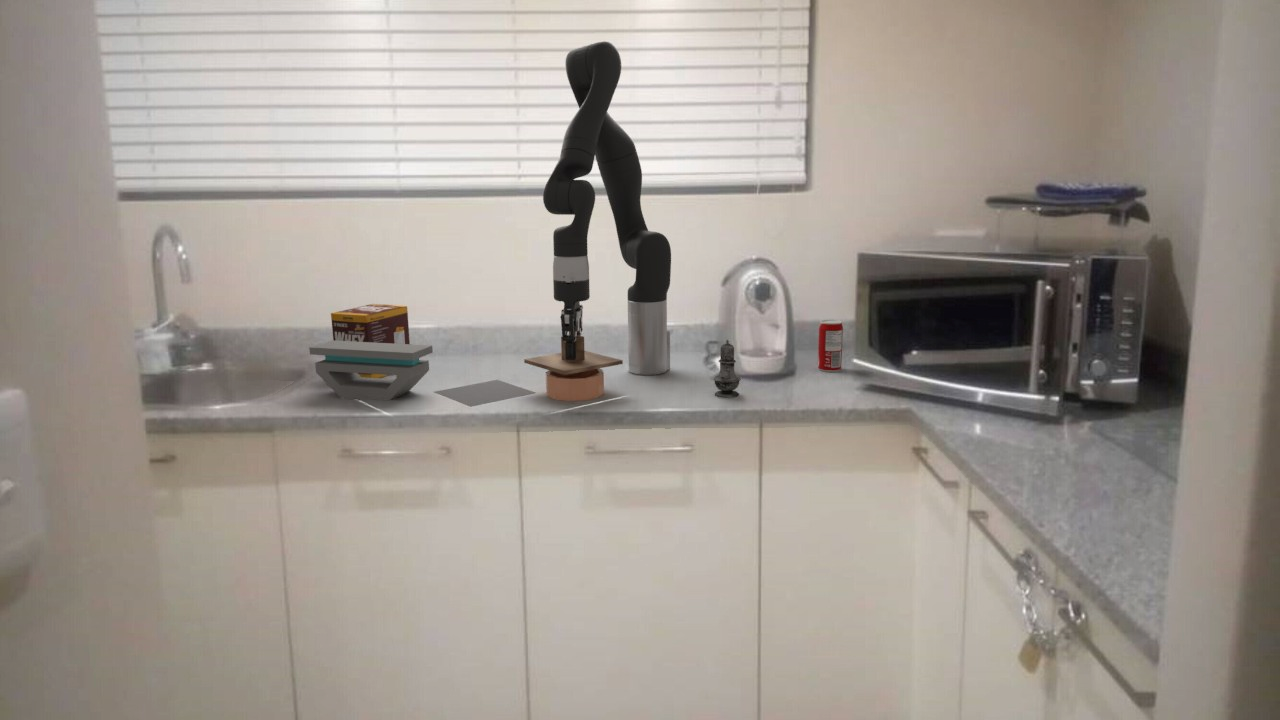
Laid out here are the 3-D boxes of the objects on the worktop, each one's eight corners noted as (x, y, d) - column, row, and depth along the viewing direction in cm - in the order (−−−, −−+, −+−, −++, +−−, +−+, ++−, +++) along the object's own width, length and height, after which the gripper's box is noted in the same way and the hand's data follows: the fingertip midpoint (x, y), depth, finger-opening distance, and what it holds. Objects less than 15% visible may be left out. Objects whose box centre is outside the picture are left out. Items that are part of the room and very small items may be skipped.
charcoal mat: (497, 381, 196) (497, 379, 196) (536, 394, 185) (536, 392, 185) (433, 393, 186) (433, 391, 186) (470, 408, 174) (470, 406, 174)
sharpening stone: (314, 396, 185) (309, 347, 183) (336, 387, 193) (331, 340, 190) (416, 404, 178) (412, 353, 176) (435, 394, 186) (432, 345, 183)
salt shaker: (739, 398, 179) (740, 342, 177) (711, 397, 181) (711, 342, 178) (741, 391, 185) (742, 337, 182) (714, 390, 186) (715, 336, 184)
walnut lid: (580, 353, 193) (580, 327, 192) (622, 363, 182) (622, 337, 180) (524, 362, 183) (523, 336, 182) (564, 374, 172) (564, 346, 171)
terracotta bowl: (580, 385, 192) (580, 363, 191) (614, 395, 183) (614, 372, 182) (536, 394, 185) (535, 371, 184) (568, 405, 176) (568, 381, 175)
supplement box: (335, 377, 202) (329, 312, 198) (378, 364, 216) (373, 303, 212) (370, 381, 198) (365, 315, 195) (412, 367, 212) (407, 305, 208)
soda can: (825, 366, 208) (827, 317, 205) (845, 369, 204) (847, 319, 202) (813, 370, 204) (814, 320, 201) (833, 373, 200) (835, 323, 198)
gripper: (559, 273, 186) (561, 349, 190) (547, 281, 172) (549, 364, 176) (593, 273, 185) (595, 350, 189) (583, 281, 171) (585, 364, 175)
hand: (573, 356), depth 182 cm, fingers closed on walnut lid, 5 cm apart
